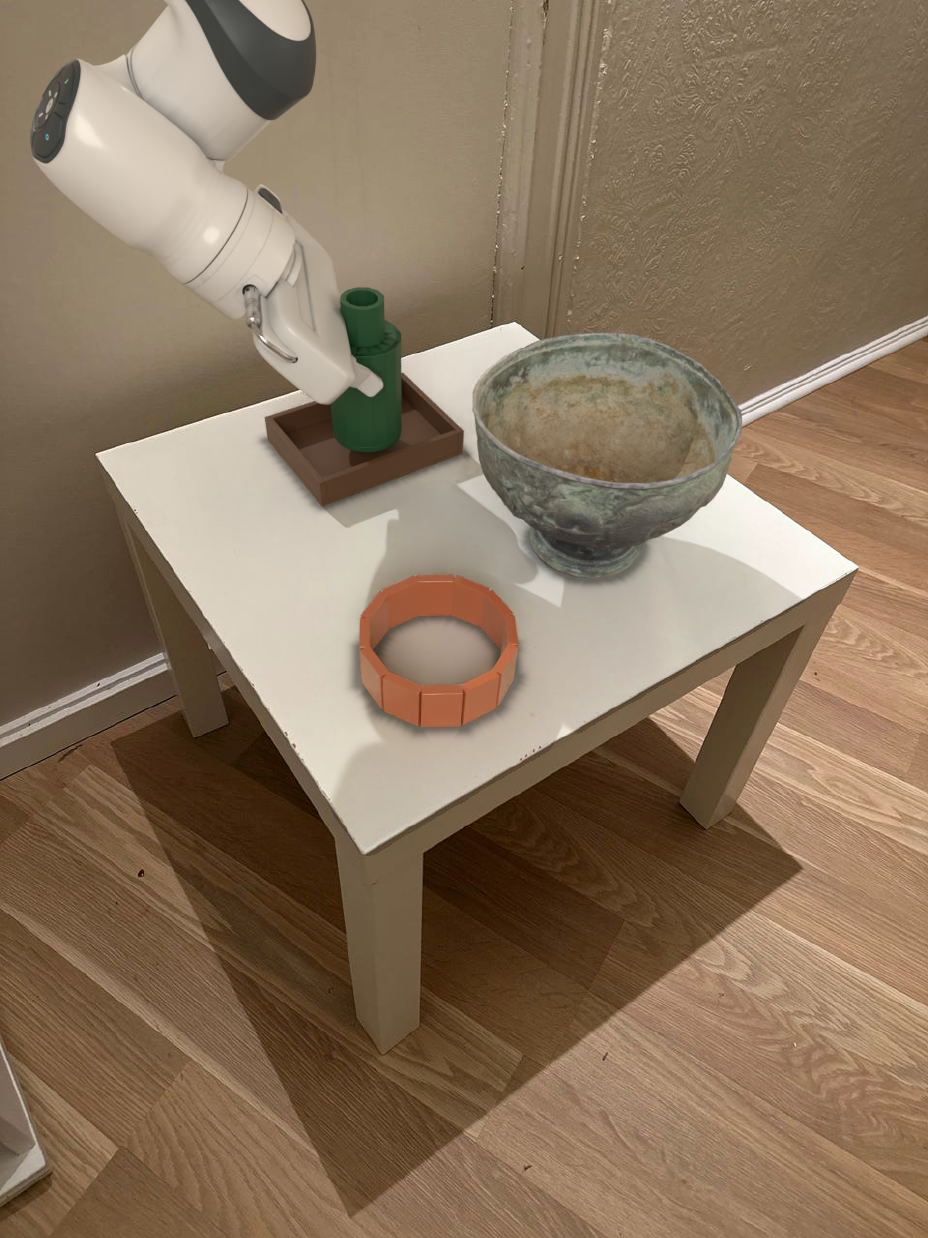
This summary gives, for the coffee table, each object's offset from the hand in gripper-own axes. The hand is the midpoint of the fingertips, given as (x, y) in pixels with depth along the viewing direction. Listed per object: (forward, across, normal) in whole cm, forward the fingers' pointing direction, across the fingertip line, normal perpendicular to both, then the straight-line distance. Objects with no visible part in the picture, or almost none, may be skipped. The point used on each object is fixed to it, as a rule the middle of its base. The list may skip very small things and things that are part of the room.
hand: (371, 361), depth 78 cm
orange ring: (+8, -27, +6) cm, 29 cm away
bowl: (+18, -15, -5) cm, 24 cm away
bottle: (+5, 0, +6) cm, 7 cm away
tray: (+6, 0, +7) cm, 10 cm away
